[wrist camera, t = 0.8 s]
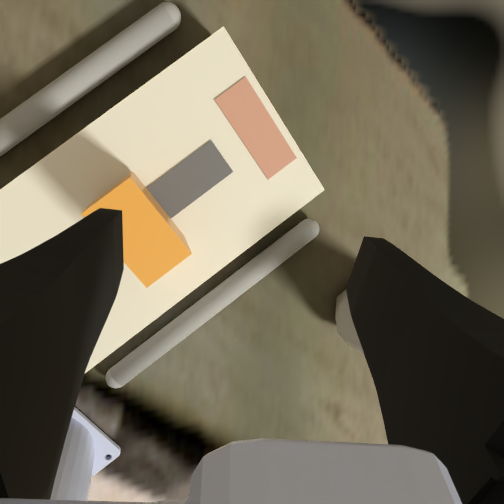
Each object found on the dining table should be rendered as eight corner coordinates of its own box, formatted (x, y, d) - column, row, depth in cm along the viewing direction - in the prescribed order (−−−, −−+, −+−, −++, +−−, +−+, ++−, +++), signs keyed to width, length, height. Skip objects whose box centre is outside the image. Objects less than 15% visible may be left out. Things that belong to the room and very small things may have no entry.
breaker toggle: (146, 263, 26) (146, 288, 22) (92, 201, 25) (80, 213, 20) (184, 235, 27) (192, 253, 22) (132, 171, 25) (130, 177, 20)
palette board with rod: (116, 384, 32) (114, 396, 30) (-89, 187, 25) (-104, 189, 24) (318, 228, 32) (326, 233, 31) (169, 1, 26) (171, -8, 25)
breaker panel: (72, 365, 30) (65, 389, 27) (-61, 240, 26) (-87, 252, 23) (308, 185, 31) (325, 189, 29) (215, 38, 27) (223, 25, 24)
